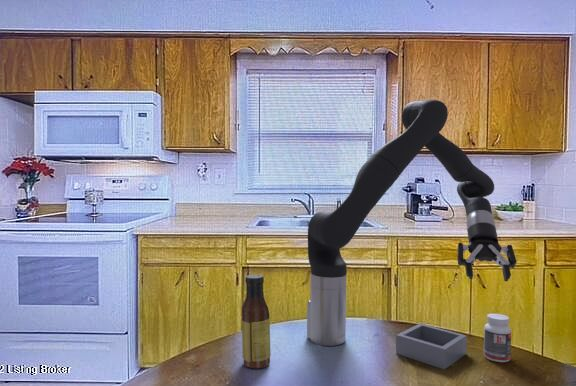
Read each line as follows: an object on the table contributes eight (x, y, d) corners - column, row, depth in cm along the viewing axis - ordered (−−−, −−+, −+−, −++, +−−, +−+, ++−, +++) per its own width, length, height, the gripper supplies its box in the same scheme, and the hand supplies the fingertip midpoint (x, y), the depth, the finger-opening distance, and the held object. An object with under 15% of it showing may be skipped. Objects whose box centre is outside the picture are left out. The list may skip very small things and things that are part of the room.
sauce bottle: (274, 360, 98) (275, 274, 97) (264, 372, 92) (265, 280, 91) (248, 356, 100) (249, 271, 99) (236, 367, 94) (237, 277, 93)
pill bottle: (513, 364, 97) (515, 321, 97) (487, 362, 98) (488, 319, 98) (506, 354, 103) (507, 313, 103) (481, 352, 104) (482, 311, 104)
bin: (395, 353, 102) (396, 334, 102) (419, 340, 111) (420, 323, 111) (444, 369, 94) (445, 349, 94) (466, 354, 103) (466, 335, 103)
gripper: (456, 220, 121) (461, 269, 111) (511, 222, 118) (522, 272, 107) (453, 236, 127) (458, 284, 116) (506, 238, 123) (515, 288, 112)
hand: (488, 278), depth 111 cm, fingers open, 8 cm apart
